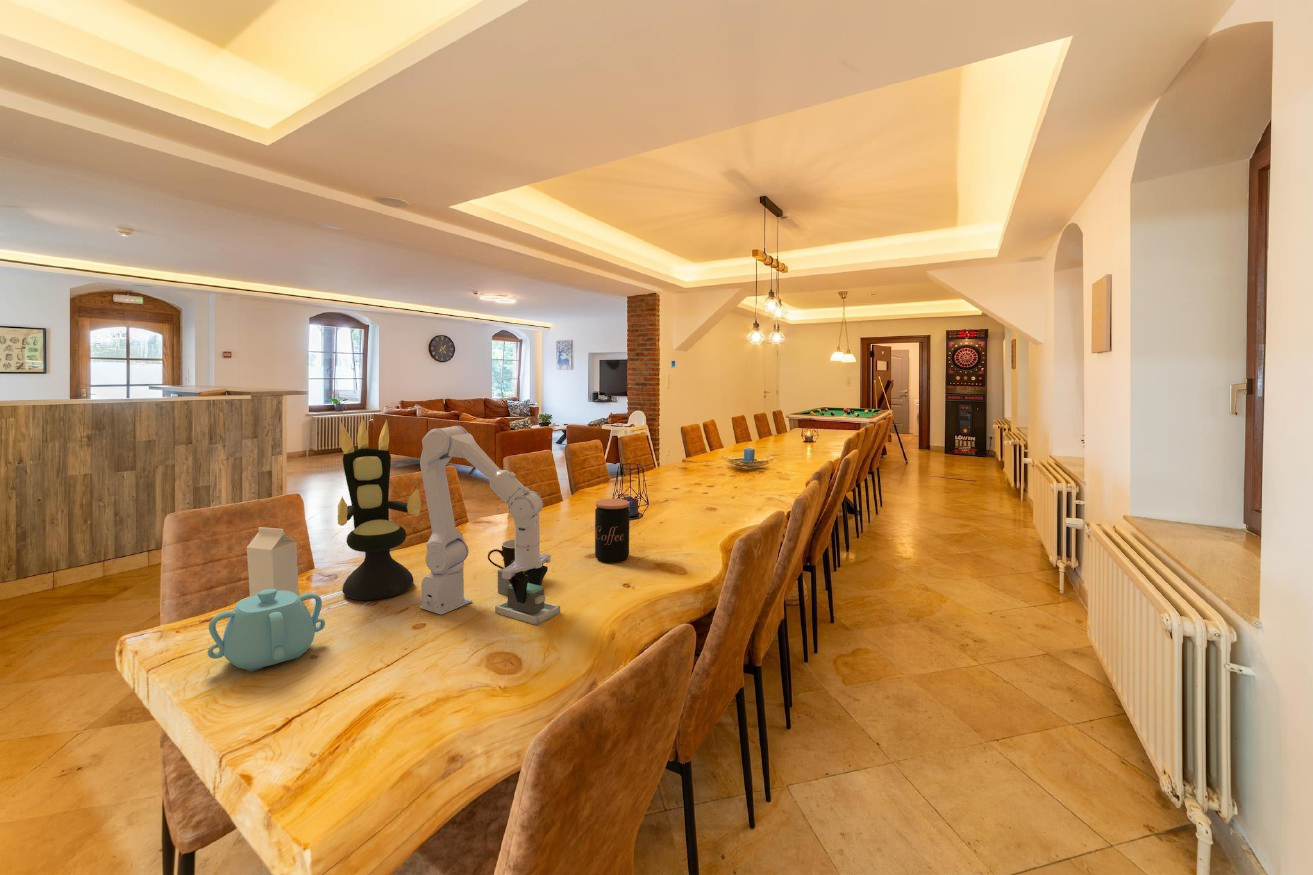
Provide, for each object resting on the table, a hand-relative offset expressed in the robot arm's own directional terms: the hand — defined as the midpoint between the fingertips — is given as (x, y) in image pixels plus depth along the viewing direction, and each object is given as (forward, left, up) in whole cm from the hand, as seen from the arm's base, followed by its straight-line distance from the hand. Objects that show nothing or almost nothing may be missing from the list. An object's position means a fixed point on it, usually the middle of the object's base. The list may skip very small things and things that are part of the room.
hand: (527, 599), depth 134 cm
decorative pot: (-42, +29, -4) cm, 52 cm away
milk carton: (-28, +56, -4) cm, 63 cm away
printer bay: (+8, +11, -3) cm, 14 cm away
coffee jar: (+45, +6, -4) cm, 45 cm away
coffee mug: (+16, +20, -4) cm, 26 cm away
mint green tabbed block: (0, +1, -2) cm, 2 cm away
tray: (0, 0, -3) cm, 3 cm away
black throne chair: (-9, +45, -4) cm, 46 cm away
